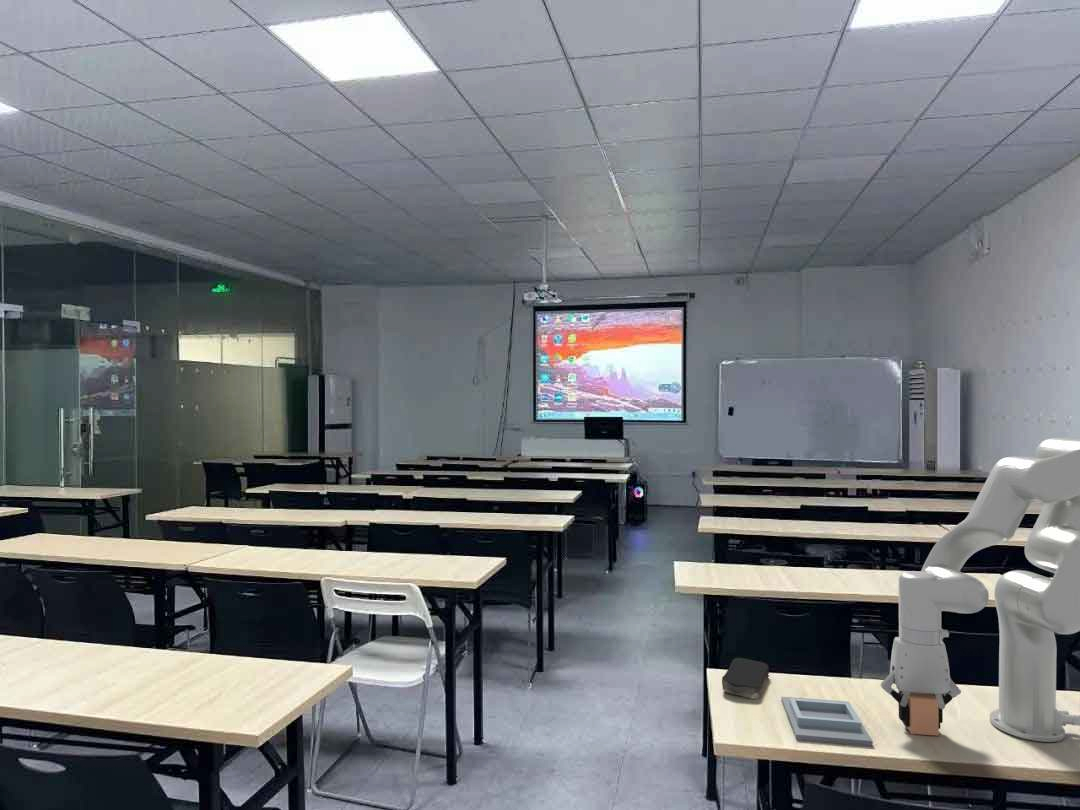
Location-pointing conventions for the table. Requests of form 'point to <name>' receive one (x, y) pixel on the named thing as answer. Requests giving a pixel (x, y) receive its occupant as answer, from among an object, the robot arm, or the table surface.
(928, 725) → the orange rectangular block
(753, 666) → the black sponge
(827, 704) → the holder dock
